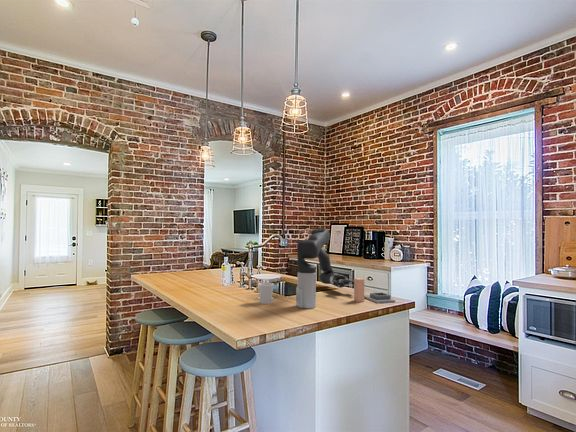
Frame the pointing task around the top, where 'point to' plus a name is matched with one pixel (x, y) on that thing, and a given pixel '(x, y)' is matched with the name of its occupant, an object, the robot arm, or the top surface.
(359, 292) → the terracotta peg
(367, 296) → the socket board
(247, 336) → the top surface
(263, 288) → the dixie cup
